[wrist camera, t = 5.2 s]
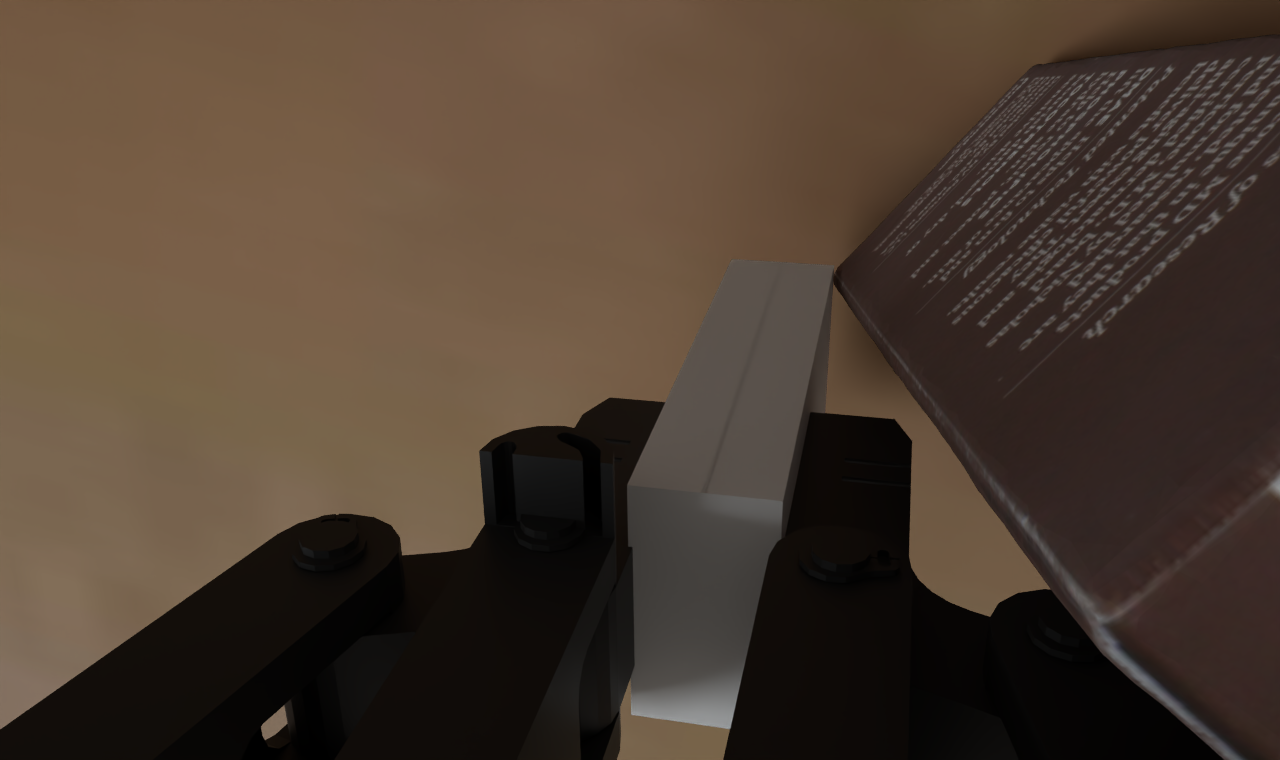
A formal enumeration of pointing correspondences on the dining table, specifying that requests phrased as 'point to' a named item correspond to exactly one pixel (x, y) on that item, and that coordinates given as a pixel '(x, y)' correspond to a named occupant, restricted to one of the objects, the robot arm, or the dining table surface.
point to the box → (1115, 356)
